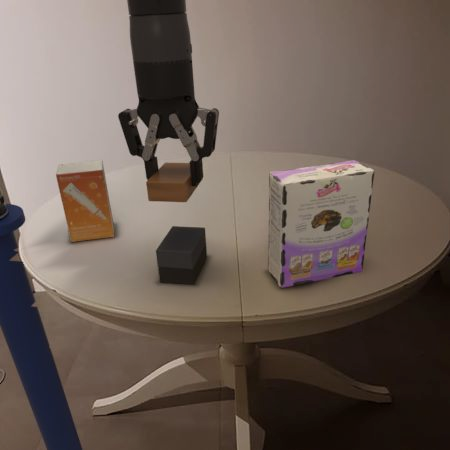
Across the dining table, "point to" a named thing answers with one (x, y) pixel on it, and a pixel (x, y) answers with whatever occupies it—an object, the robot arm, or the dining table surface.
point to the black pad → (183, 272)
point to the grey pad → (181, 247)
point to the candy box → (318, 221)
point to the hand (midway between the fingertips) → (175, 183)
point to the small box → (85, 200)
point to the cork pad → (171, 183)
